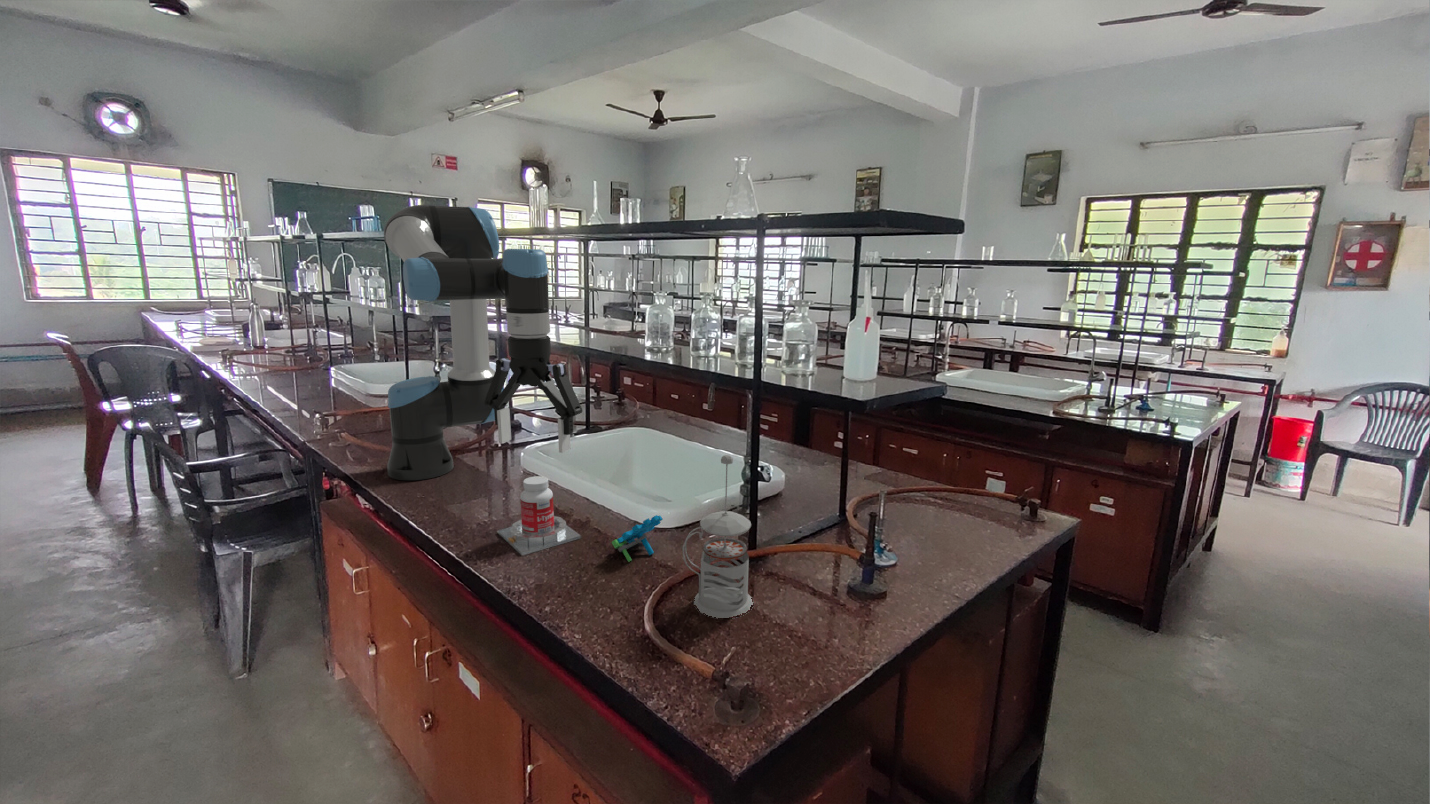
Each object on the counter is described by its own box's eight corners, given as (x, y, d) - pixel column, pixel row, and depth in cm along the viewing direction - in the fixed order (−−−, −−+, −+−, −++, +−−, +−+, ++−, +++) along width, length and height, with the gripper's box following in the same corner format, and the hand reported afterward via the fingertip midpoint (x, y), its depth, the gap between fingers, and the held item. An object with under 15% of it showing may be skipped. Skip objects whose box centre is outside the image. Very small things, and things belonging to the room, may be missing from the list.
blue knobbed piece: (647, 526, 125) (666, 505, 118) (663, 552, 123) (682, 532, 116) (601, 550, 118) (617, 529, 111) (616, 577, 116) (634, 558, 109)
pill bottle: (539, 542, 119) (536, 487, 117) (515, 535, 122) (512, 482, 120) (561, 530, 125) (558, 477, 122) (537, 524, 128) (534, 472, 125)
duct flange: (497, 533, 124) (497, 523, 124) (554, 518, 132) (553, 508, 131) (521, 555, 115) (521, 545, 115) (580, 538, 123) (580, 528, 122)
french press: (750, 622, 96) (755, 467, 90) (676, 614, 98) (677, 462, 92) (756, 589, 105) (762, 447, 100) (689, 582, 107) (690, 443, 101)
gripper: (459, 333, 115) (468, 443, 120) (576, 342, 107) (580, 460, 112) (487, 328, 122) (494, 433, 127) (599, 337, 114) (601, 448, 119)
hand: (534, 446), depth 119 cm, fingers open, 13 cm apart
